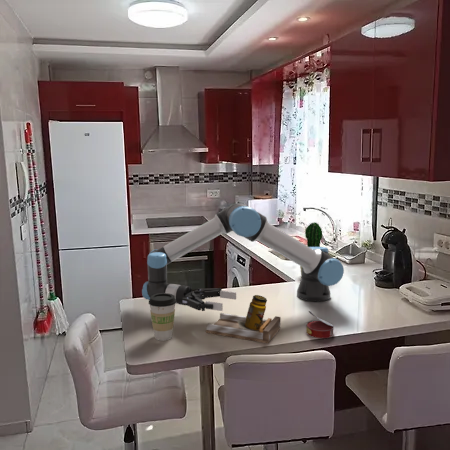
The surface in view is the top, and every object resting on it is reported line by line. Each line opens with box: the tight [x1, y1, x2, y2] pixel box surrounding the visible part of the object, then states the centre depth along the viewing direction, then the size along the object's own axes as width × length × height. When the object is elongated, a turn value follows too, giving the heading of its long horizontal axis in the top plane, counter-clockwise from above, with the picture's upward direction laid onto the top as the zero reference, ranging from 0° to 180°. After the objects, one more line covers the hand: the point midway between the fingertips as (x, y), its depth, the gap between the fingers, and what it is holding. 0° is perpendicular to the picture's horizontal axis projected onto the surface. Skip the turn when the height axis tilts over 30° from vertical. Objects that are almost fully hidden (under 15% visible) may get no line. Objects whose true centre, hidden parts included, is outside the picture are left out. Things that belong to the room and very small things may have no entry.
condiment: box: [238, 294, 268, 332], centre depth 165 cm, size 7×8×12 cm
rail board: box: [205, 312, 282, 344], centre depth 167 cm, size 24×15×4 cm, turn 67°
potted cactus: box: [299, 221, 324, 271], centre depth 235 cm, size 15×15×30 cm
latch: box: [260, 317, 273, 333], centre depth 163 cm, size 1×10×3 cm, turn 157°
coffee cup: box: [148, 293, 176, 341], centre depth 160 cm, size 10×10×15 cm
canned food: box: [305, 310, 335, 339], centre depth 165 cm, size 11×10×10 cm
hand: (229, 301), depth 168 cm, fingers open, 13 cm apart
